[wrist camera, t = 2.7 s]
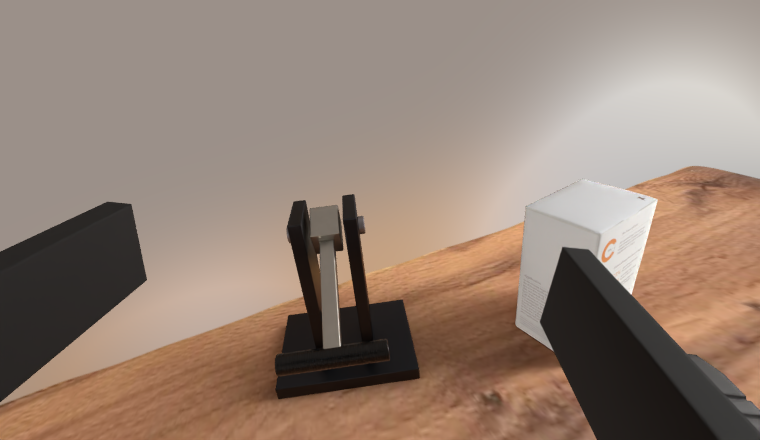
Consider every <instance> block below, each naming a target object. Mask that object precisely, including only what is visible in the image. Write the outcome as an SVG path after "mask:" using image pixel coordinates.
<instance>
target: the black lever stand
mask: <svg viewBox="0 0 760 440" xmlns="http://www.w3.org/2000/svg"><path fill="white" fill-rule="evenodd" d="M342 202H343V203H342V204H343V224H344V231H345V237H346V243H347V250H348V256H349V262H350V269H351V275H352V282H353V288H354V294H355V301H356V306H353V307H345V308H340V323H341V338H342V345H345V344H352V343H359V342H366V341H373V340H380V339H387V341H388V347H389V355H390V360H389V361H383V362H376V363H369V364H362V365H355V366H348V367H341V368H335V369H328V370H321V371H314V372H307V373H300V374H293V375H286V376H280V377H279V376H278V378H277V383H276V389H275V390H276V393H277V396H278V399H282V398H289V397H295V396H302V395H309V394H316V393H322V392H329V391H336V390H343V389H349V388H356V387H363V386H370V385H376V384H383V383H390V382H397V381H403V380H410V379H417V378H419V367H418V362H417V358H416V354H415V350H414V345H413V341H412V337H411V333H410V328H409V324H408V320H407V316H406V311H405V307H404V303H403V300H396V301H389V302H382V303H374V304H369V298H368V291H367V284H366V276H365V269H364V263H363V254H362V247H361V241H360V234H364V233H365V225H364V218H363V216H359V217H357V210H356V203H355V196H354V194H352V195H345V196H342ZM287 238H288V241H289V243H291V246H292V250H293V254H294V259H295V263H296V267H297V271H298V275H299V279H300V283H301V288H302V292H303V296H304V300H305V305H306V309H307V313H302V314H295V315H288V320H287V326H286V332H285V337H284V343H283V349H282V353H289V352H296V351H303V350H310V349H317V348H323V330H322V302H321V275H320V269H319V264H318V259H317V254H316V253H315V250H314V247H313V244H312V241H311V238H310V220H309V215H308V210H307V205H306V201H305V200H303V201H295V202H293V206H292V210H291V214H290V218H289V221H288V225H287Z"/></svg>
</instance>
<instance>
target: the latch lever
mask: <svg viewBox="0 0 760 440" xmlns="http://www.w3.org/2000/svg"><path fill="white" fill-rule="evenodd" d="M310 238H311V241H312V244H313V247H314V250H315V253H316V254H320V275H321V302H322V330H323V348H317V349H310V350H303V351H296V352H289V353H282V354H277V355H276V358H275V371H276V374H277V376H279V377H280V376H286V375H293V374H300V373H307V372H314V371H321V370H328V369H335V368H341V367H348V366H355V365H362V364H369V363H376V362H383V361H389V360H390V355H389V347H388V341H387V339H380V340H373V341H366V342H359V343H352V344H345V345H342V338H341V323H340V308H339V293H338V279H337V264H336V251H343V239H342V226H341V220H340V215H339V210H338V206H337V205H333V206H325V207H317V208H310Z"/></svg>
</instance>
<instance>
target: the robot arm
mask: <svg viewBox="0 0 760 440" xmlns="http://www.w3.org/2000/svg"><path fill="white" fill-rule="evenodd" d="M146 280H147V278H146V274H145V269H144V264H143V259H142V254H141V249H140V244H139V239H138V234H137V230H136V225H135V220H134V215H133V210H132V206H131V204H125V203H115V202H106V203H104V204H102V205H100V206H97V207H95V208H93V209H91V210H89V211H87V212H85V213H82V214H80V215H78V216H76V217H74V218H72V219H70V220H67V221H65V222H63V223H61V224H59V225H57V226H54V227H52V228H50V229H48V230H46V231H44V232H42V233H40V234H37V235H35V236H33V237H31V238H29V239H27V240H25V241H23V242H20V243H18V244H16V245H14V246H12V247H9V248H7V249H5V250H3V251H1V252H0V402H1V401H2V400H3V399H5V398H6V397H7V396H8V395H9V394H11V393H12V392H13V391H14V390H15V389H16V388H18V387H19V386H20V385H21V384H23V383H24V382H25V381H26V380H27V379H29V378H30V377H31V376H32V375H33V374H35V373H36V372H37V371H38V370H39V369H41V368H42V367H43V366H44V365H45V364H47V363H48V362H49V361H50V360H51V359H52V358H54V357H55V356H56V355H57V354H58V353H60V352H61V351H62V350H64V349H65V348H66V347H67V346H68V345H69V344H71V343H72V342H73V341H74V340H76V339H77V338H78V337H79V336H80V335H81V334H83V333H84V332H85V331H86V330H87V329H89V328H90V327H91V326H92V325H93V324H95V323H96V322H97V321H98V320H99V319H101V318H102V317H103V316H104V315H105V314H107V313H108V312H109V311H110V310H111V309H113V308H114V307H115V306H116V305H118V304H119V303H120V302H121V301H122V300H124V299H125V298H126V297H127V296H128V295H129V294H130V293H132V292H133V291H134V290H135V289H137V288H138V287H139V286H140V285H142V284H143V283H144V282H145V281H146ZM540 324H541V326H542V328H543V330H544V332H545V334H546V336H547V338H548V340H549V343H550V345H551V347H552V349H553V351H554V353H555V355H556V357H557V359H558V361H559V363H560V365H561V367H562V369H563V371H564V373H565V375H566V377H567V379H568V381H569V383H570V385H571V387H572V390H573V392H574V394H575V396H576V398H577V400H578V402H579V404H580V406H581V408H582V410H583V412H584V414H585V416H586V418H587V420H588V422H589V424H590V426H591V428H592V430H593V432H594V435H595V437H596V439H597V440H760V410H759V409H758V408H757V407H756V406H755V405H754V404H753V403H752V402H751V401H747V400H746V396H745V395H744V394H743V393H742V392H741V391H740V390H739V389H738V388H737V387H736V386H735V385H734V384H733V383H732V382H731V381H730V380H729V379H728V378H727V377H726V376H725V375H724V374H723V373H721V372H720V371H718V370H717V369H716V368H714V367H713V366H711V365H710V364H708V363H707V362H705V361H704V360H703V359H701V358H700V357H698V356H697V355H692V354H686V353H685V352H684V350H683V349H682V348H681V347H680V346H679V345H678V344H677V343H676V342H675V341H674V340H673V339H672V338H671V337H670V336H669V334H668V333H667V332H666V331H665V330H664V329H663V328H662V327H661V326H660V325H659V324H658V323H657V322H656V321H655V320H654V318H653V317H652V316H651V315H650V314H649V313H648V312H647V311H646V310H645V309H644V308H643V307H642V306H641V305H640V304H639V302H638V301H637V300H636V299H635V298H634V297H633V296H632V295H631V294H630V293H629V292H628V291H627V290H626V289H625V288H624V286H623V285H622V284H621V283H620V282H619V281H618V280H617V279H616V278H615V277H614V276H613V275H612V274H611V273H610V272H609V270H608V269H607V268H606V267H605V266H604V265H603V264H602V263H601V262H600V261H599V260H598V259H597V258H596V257H595V255H594V254H593V253H592V252H591V251H590V250H589V249H579V248H569V247H562V250H561V253H560V256H559V260H558V263H557V266H556V270H555V273H554V276H553V279H552V283H551V286H550V289H549V293H548V296H547V299H546V303H545V306H544V309H543V313H542V316H541V319H540Z"/></svg>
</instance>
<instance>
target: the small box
mask: <svg viewBox="0 0 760 440" xmlns="http://www.w3.org/2000/svg"><path fill="white" fill-rule="evenodd" d="M656 204H657V199H655V198H652V197H649V196H645V195H642V194H639V193H635V192H631V191H628V190H624V189H620V188H616V187H613V186H608V185H605V184H600V183H597V182H593V181H588V180H584V179H581V180H579V181H577V182H575V183H573V184H571V185H569V186H567V187H565V188H563V189H561V190H559V191H557V192H554V193H553V194H550V195H549V196H547V197H544V198H542V199H540V200H538V201H536V202H534V203H532V204H530V205H528V206H526V211H525V221H524V233H523V244H522V255H521V266H520V278H519V289H518V299H517V311H516V322H515V324H516V326H517V327H518V328H520V329H521V330H523V331H524V332H526V333H527V334H529V335H530V336H532V337H533V338H535V339H536V340H538V341H539V342H541V343H542V344H544V345H545V346H547V347H548V348H549V349H551V350H552V351H553V349H552V347H551V345H550V343H549V340H548V338H547V336H546V334H545V332H544V330H543V328H542V326H541V324H540V319H541V316H542V313H543V309H544V306H545V303H546V299H547V296H548V293H549V289H550V286H551V283H552V279H553V276H554V273H555V270H556V266H557V263H558V260H559V256H560V253H561V250H562V247H569V248H579V249H589V250H590V251H591V252H592V253H593V254H594V255H595V257H596V258H597V259H598V260H599V261H600V262H601V263H602V264H603V265H604V266H605V267H606V268H607V269H608V270H609V272H610V273H611V274H612V275H613V276H614V277H615V278H616V279H617V280H618V281H619V282H620V283H621V284H622V285H623V286H624V288H625V289H626V290H627V291H628V292H629V293H630V294H631V295H632V291H633V287H634V283H635V280H636V276H637V273H638V269H639V266H640V262H641V259H642V255H643V252H644V248H645V244H646V241H647V237H648V233H649V230H650V226H651V222H652V219H653V215H654V211H655V208H656Z"/></svg>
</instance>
